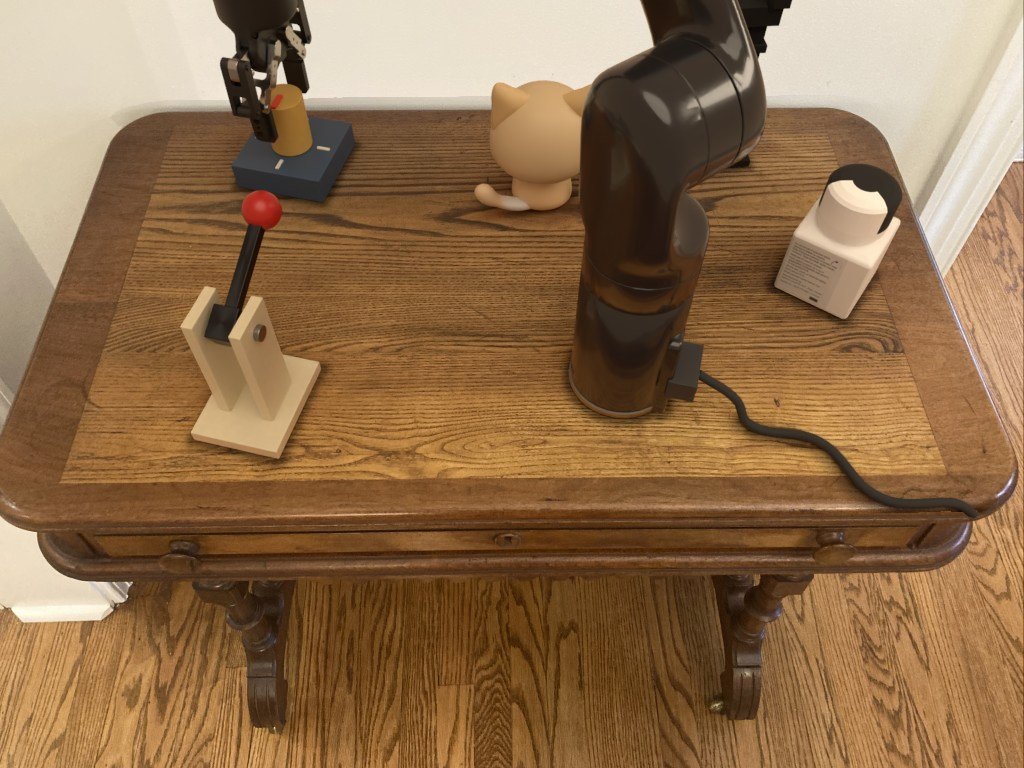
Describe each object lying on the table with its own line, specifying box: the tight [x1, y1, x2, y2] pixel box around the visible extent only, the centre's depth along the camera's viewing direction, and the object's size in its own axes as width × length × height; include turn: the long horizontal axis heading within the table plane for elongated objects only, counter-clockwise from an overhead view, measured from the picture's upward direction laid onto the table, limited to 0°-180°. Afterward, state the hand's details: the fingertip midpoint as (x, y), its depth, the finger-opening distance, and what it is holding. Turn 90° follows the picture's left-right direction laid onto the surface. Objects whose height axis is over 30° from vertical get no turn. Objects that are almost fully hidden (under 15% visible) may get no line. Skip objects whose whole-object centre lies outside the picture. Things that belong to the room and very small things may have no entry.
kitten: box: [474, 79, 592, 212], centre depth 87 cm, size 15×10×15 cm, turn 89°
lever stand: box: [179, 285, 322, 460], centre depth 72 cm, size 10×8×13 cm
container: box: [774, 163, 903, 320], centre depth 81 cm, size 8×8×13 cm
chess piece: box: [727, 0, 793, 169], centre depth 90 cm, size 8×8×20 cm
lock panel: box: [230, 115, 356, 203], centre depth 95 cm, size 10×10×3 cm
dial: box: [258, 83, 313, 156], centre depth 91 cm, size 4×4×6 cm
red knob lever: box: [204, 190, 283, 347], centre depth 69 cm, size 13×3×3 cm, turn 166°
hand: (284, 114), depth 90 cm, fingers open, 8 cm apart
